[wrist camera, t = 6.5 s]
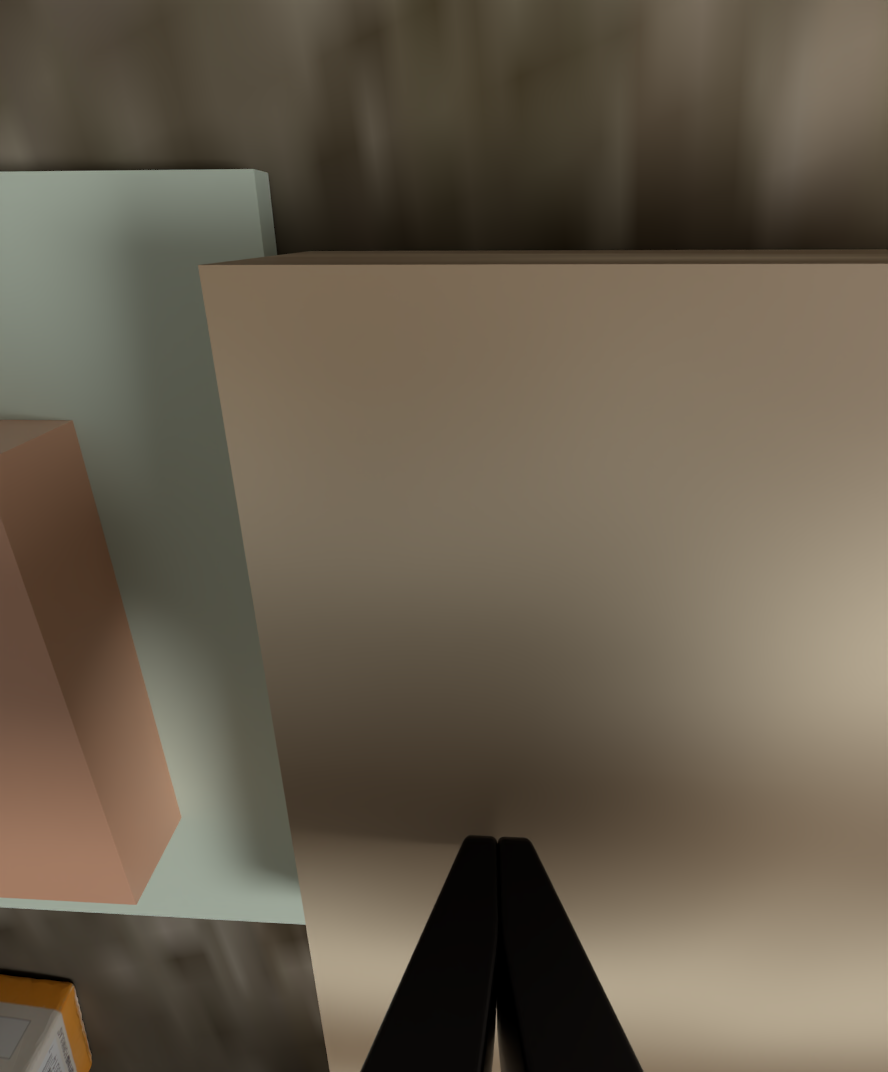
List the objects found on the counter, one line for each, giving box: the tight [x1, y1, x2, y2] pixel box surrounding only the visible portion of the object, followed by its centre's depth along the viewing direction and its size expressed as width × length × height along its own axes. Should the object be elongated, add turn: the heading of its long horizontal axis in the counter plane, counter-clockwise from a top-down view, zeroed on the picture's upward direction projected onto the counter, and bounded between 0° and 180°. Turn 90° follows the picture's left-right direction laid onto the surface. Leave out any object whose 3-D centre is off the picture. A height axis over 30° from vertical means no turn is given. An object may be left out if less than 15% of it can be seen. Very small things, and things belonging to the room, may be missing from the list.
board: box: [198, 249, 888, 1072], centre depth 10 cm, size 14×16×4 cm
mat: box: [0, 169, 306, 925], centre depth 12 cm, size 16×11×1 cm
